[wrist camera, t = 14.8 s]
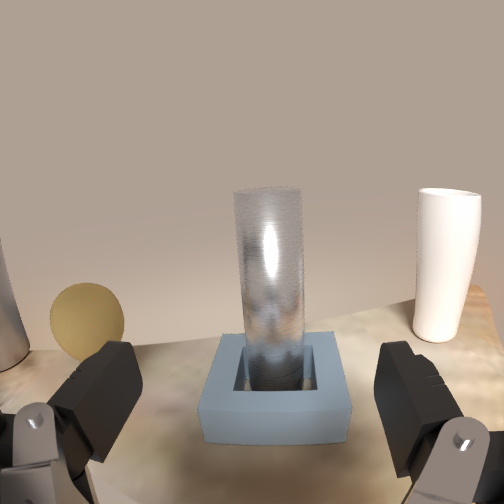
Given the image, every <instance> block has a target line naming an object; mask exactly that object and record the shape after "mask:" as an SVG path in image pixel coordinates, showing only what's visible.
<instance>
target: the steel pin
mask: <svg viewBox="0 0 504 504" xmlns="http://www.w3.org/2000/svg"><path fill="white" fill-rule="evenodd" d="M233 200H234V213H235V225H236V237H237V249H238V260H239V271H240V283H241V295H242V305H243V315H244V316H243V317H244V327H245V338H246V349H247V359H248V369H249V379H250V389H251V391H303V381H304V255H303V223H302V199H301V188H298V187H264V188H253V189H245V190H239V191H235V192H233Z"/></svg>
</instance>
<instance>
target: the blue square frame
mask: <svg viewBox="0 0 504 504" xmlns="http://www.w3.org/2000/svg"><path fill="white" fill-rule="evenodd" d="M304 378H311V384H312V390H305V391H244V387H245V382H246V379H249V369H248V359H247V349H246V338H245V334H223V335H222V338H221V341H220V343H219V346H218V349H217V352H216V355H215V358H214V361H213V364H212V367H211V370H210V372H209V375H208V378H207V381H206V384H205V387H204V390H203V393H202V396H201V399H200V401H199V404H198V407H197V411H198V415H199V419H200V423H201V427H202V431H203V435H204V439H205V442H208V443H220V444H236V445H313V444H329V443H341V442H346V437H347V432H348V427H349V422H350V417H351V412H352V405H351V401H350V396H349V392H348V388H347V383H346V379H345V375H344V371H343V367H342V363H341V359H340V355H339V351H338V347H337V343H336V339H335V335H334V331H331V332H310V333H304Z"/></svg>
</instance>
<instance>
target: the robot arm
mask: <svg viewBox="0 0 504 504" xmlns="http://www.w3.org/2000/svg"><path fill="white" fill-rule="evenodd" d="M29 348H30V343H29V340H28V337H27V335H26V332H25V329H24V326H23V323H22V320H21V317H20V314H19V311H18V307H17V304H16V301H15V298H14V294H13V291H12V287H11V283H10V280H9V276H8V272H7V268H6V264H5V260H4V255H3V251H2V245H1V240H0V371H3V370H6V369H8V368H10V367H12V366H14V365H15V364H17V363H18V362H19V361H21V360H22V359H23V358H24V357H25V356H26V354H27V353H28V351H29ZM444 383H445V382H444V381H443V379H442V377H441V376H439V372H438V371H437V369H436V367H435V366H434V364H433V363H432V362H431V361H430V360H428V359H427V358H425V357H424V356H423V355H421V354H420V355H414V353H413V351H412V349H411V348H410V346H409V344H408V343H407V342H406V341H397V342H387V343H383V344H382V345H381V348H380V353H379V359H378V365H377V370H376V375H375V380H374V397H375V401H376V405H377V408H378V411H379V414H380V418H381V421H382V424H383V428H384V431H385V435H386V438H387V442H388V445H389V449H390V452H391V456H392V460H393V463H394V467H395V471H396V475H397V478H401V477H406V476H410V477H411V481H412V485H411V486H410V488H409V490H408V492H407V493H406V495H405V497H404V499H403V500H402V502H401V504H471V503H474V502H475V503H476V504H504V431H488V430H487V428H486V427H485V425H484V424H483V423H481V422H480V421H478V420H476V419H474V418H470V417H464V415H463V414H462V412H461V410H460V408H459V406H458V405H457V403H456V401H455V399H454V398H453V396H452V394H451V392H450V391H449V389H448V387H447V386H446V385H445V384H444ZM142 387H143V382H142V377H141V373H140V370H139V367H138V363H137V360H136V356H135V353H134V349H133V347H132V345H131V343H129V342H121V341H112V340H109V341H107V342H106V343H105V344H104V345H103V346H102V348H101V349H100V350H99V351H98V352H97V353H94V354H93V355H91V356H90V357H88V358H86V359H85V360H83V362H82V363H81V364H80V365H79V366H78V367H77V368H76V371H74V372H73V373H72V374H71V375H70V378H68V379H67V380H66V381H65V382H64V383H63V384H62V386H61V387H60V388H59V389H58V390H57V391H56V393H55V394H54V395H53V396H52V397H51V399H50V400H49V401H48V402H47V403H46V404H45V403H40V402H37V403H32V404H29V405H26V406H24V407H23V408H22V409H20V410H19V411H18V413H17V414H3V413H2V412H1V410H0V504H99V502H98V499H97V496H96V492H95V489H94V486H93V482H92V479H91V474H90V471H89V468H88V466H87V465H86V464H87V463H88V461H89V459H91V460H94V461H98V462H101V463H103V462H104V461H105V459H106V457H107V455H108V453H109V451H110V450H111V448H112V446H113V444H114V442H115V440H116V439H117V437H118V435H119V433H120V431H121V430H122V428H123V426H124V424H125V422H126V421H127V419H128V417H129V415H130V413H131V412H132V410H133V408H134V406H135V404H136V403H137V401H138V399H139V397H140V395H141V393H142Z"/></svg>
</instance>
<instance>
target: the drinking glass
mask: <svg viewBox="0 0 504 504" xmlns="http://www.w3.org/2000/svg"><path fill="white" fill-rule="evenodd" d="M480 227H481V195H480V194H477V193H473V192H467V191H460V190H452V189H438V188H424V189H420V190H419V192H418V206H417V274H416V299H415V312H414V318H413V331H414V333H415V334H416V335H417V336H418V337H419V338H421V339H423V340H425V341H428V342H433V343H443V342H447V341H449V340H451V339H452V338H454V336H455V335H456V333H457V330H458V326H459V322H460V318H461V314H462V311H463V307H464V304H465V300H466V296H467V292H468V289H469V285H470V281H471V276H472V272H473V268H474V263H475V259H476V254H477V249H478V243H479V236H480Z"/></svg>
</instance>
